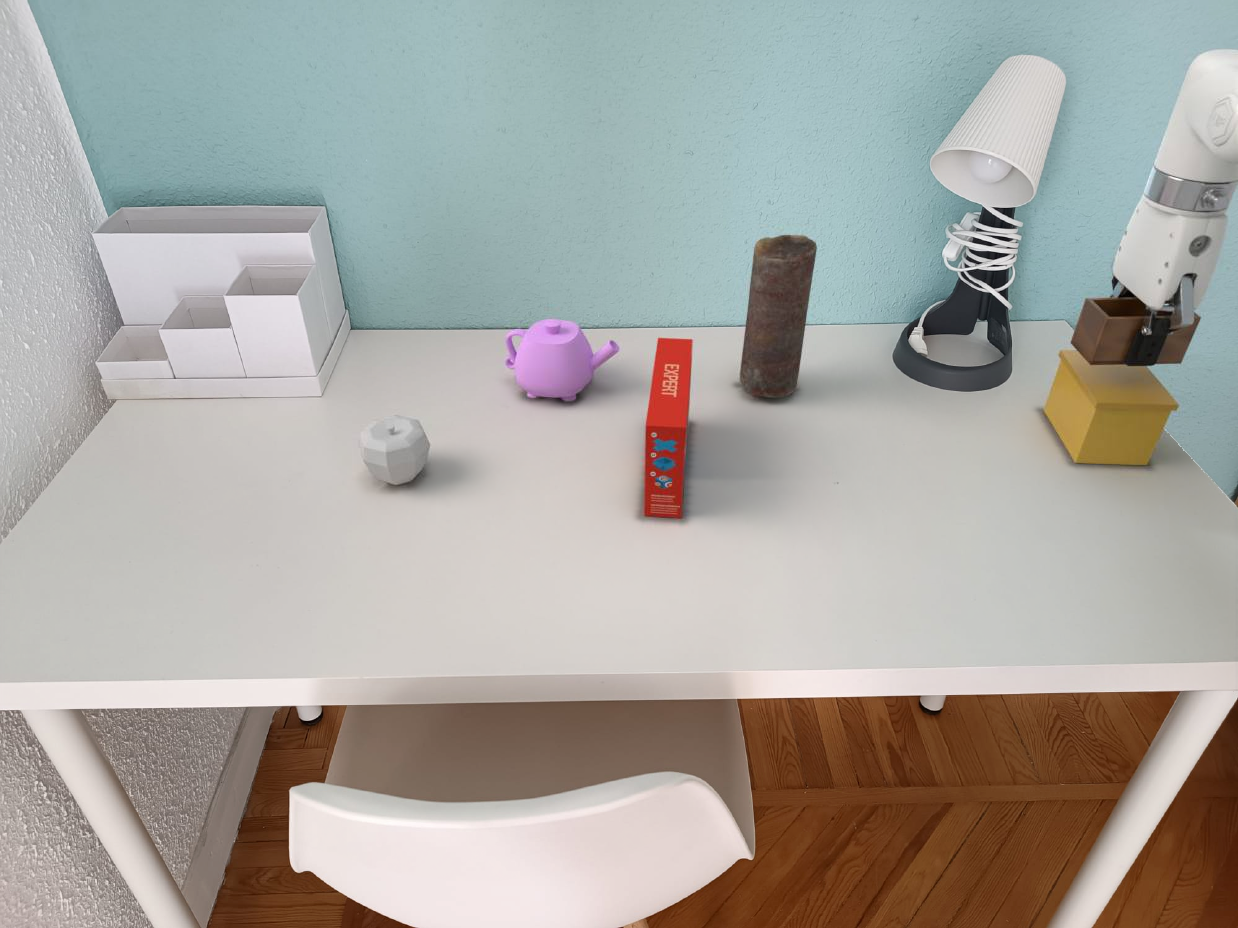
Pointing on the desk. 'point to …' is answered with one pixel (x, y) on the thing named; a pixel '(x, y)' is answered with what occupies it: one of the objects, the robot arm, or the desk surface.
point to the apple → (394, 449)
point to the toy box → (667, 428)
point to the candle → (777, 314)
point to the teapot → (555, 359)
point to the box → (1107, 410)
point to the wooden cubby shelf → (1122, 331)
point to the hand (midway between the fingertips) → (1126, 349)
